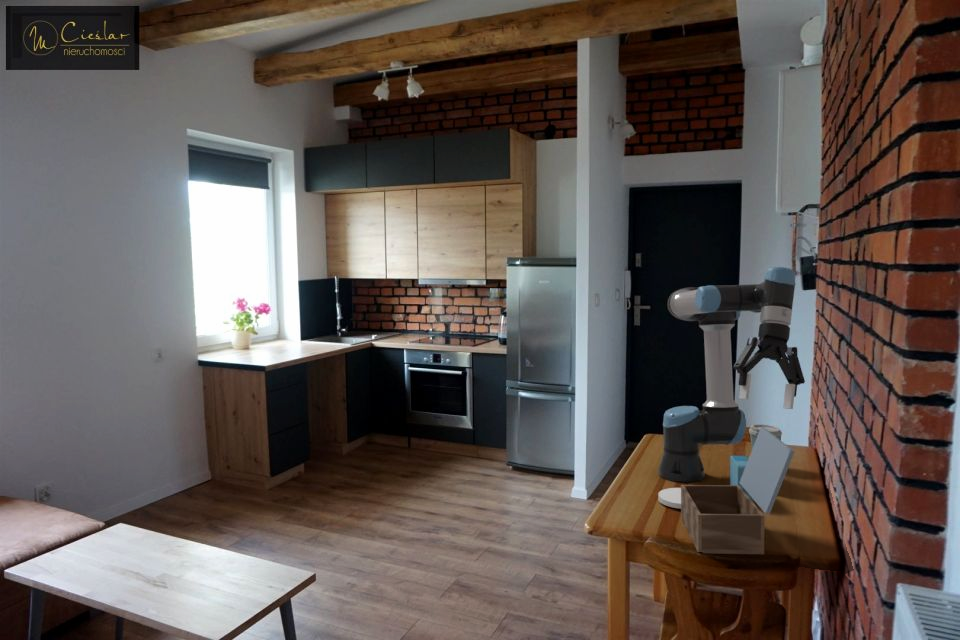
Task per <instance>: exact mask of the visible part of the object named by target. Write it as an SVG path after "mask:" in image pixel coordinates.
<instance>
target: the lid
mask: <svg viewBox="0 0 960 640" xmlns="http://www.w3.org/2000/svg"><path fill="white" fill-rule="evenodd" d="M795 452H796V451H795V450H794V449H792V448H791V447H790V446H789V445H788V444H786V443H784V442H783V441H782V439H781V440H780V439H778V438H777V437H776V436H774V435H773V434H772V433H771V432H769V431H768V430H767V429H766V428H764V427H761V428H760V431H759V434H758V436H757V439H756V441H755V444H754V446H753V449H752V448H751V451H750V453H749V457H748V458H747V459H748V462H747V464H746V467H745V469H744V472H743V474H742V477H741V480H740V482H739V483H740V484H741V485H742V486H743V488H744V489H745V490H746V491H747V492H748V494H749V495H750V496H751V497H752V498H753V502H754V503H756V504H757V505H758V508H759V509H761V510H762V511H763V513H764V514H765V515H769V516H770V515H771V512H772V509H773V507H774V504H775V501H776V499H777V496H778V494H779V492H780V490H781V487H782V483H783V481H784V480H785V477H786V475H787V471H788V469H789V466H790V464H791V461H792V459H793V458H794V457H793V456H794V455H795Z"/></svg>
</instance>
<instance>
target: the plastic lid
mask: <svg viewBox="0 0 960 640" xmlns="http://www.w3.org/2000/svg"><path fill="white" fill-rule="evenodd" d="M657 497H658V499H657V500H658V502H660V504H662V505H664V506H667V507H670V508H674V509H680V510H681V487H670V488H664V489H661V490H660V491H658V493H657Z"/></svg>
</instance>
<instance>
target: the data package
mask: <svg viewBox="0 0 960 640" xmlns="http://www.w3.org/2000/svg"><path fill="white" fill-rule="evenodd" d="M729 458H730V460H729V462H730V463H729V465H730V466H729V471H730V472H729V473H730V474H729V475H730V476H729V485H739V486H740V487H741V488H742V489H743V491H744V492H745V493H746V494H747V495H748V497H749V498H750V499H751V500H752V501H753V502H754V499H753V498H752V497H751V496H750V495H749V494H748V492H747V491H746V490H745V489H744V488H743V486H742V485H741V484H740V483H739V482H740V480H741V477H742V474H743V472H744V469H745V467H746V464H747V462H748V459H749V458H748V457H747V456H746V455H730V457H729Z"/></svg>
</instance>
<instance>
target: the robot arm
mask: <svg viewBox="0 0 960 640" xmlns="http://www.w3.org/2000/svg"><path fill="white" fill-rule="evenodd" d="M763 280H764V281H762V282H761V283H757V284H756V283H755V284H734V285H733V284H732V285H725V284H724V285H712V284H711V285H709V284H708V285H705V286H704V285H703V286H699V287H697V286H696V287H693V286H691V287H684V288H680V289H677V290H675V291H673V292H672V293H671V294H670V296H669V297H668V299H667V309H668V311H669V313H670V314H671V315H672V316H673V317H675V318H676V319H678V320H682V321H687V322H698V327H699V328H700V329H701V330H702V331H703V339H704V343H703V346H704V363H705V364H704V365H705V381H706V382H705V383H706V384H705V385H706V388H705V389H706V401H705V402H704V403H702V410H699V408H698V407H697V406H693V405H681V406H675V407H672V408H669V409H667V410H665V412H664V414H663V420H662V421H663V422H662V427H663V432H662V433H663V454H662V455H661V460H660V462H659V465H658V476H660V477H661V478H663V479H664V480H665V479H666V480H668V481H672V482H680V483H692V482H693V483H694V482H698V481H702V480H703V479H704V478H705V467H704V465H703V462H702V458H701V456H700V446H714V445H715V446H716V445H717V446H718V445H725V446H728V445H735V444H736V445H737V444H739V443H741V442H742V441H743V440H744V439H743V438H744V437H745V435H746V431H747V418H746V414H745V412H744V411H743V410H742V409H740V408H739V404H738V403H737V402H736V400H734V382H733V370H735V371H736V372H737V374H739V379H738V386H740V389H739V394H738V399H740V400H749V394H750V387H751V381H752V380H751V378H752V374H751V373H749V372H750V371H751V370H753V368H755V367H756V366H757V364H758V363H760V362H761V361H762V360H763V359H766V360H767V359H769V360H772V361H775V362H776V363H777V365H779V367H780V370H781V372H782V373H783V375H784V377H785V379H786V380H787V383H785V389H784V395H783V405H782V406H783V408H782V409H785V410H786V409H787V410H793V409H794V402H795V401H794V400H795V397H797V392H798V391H797V390H798V386H799V385H801V384H803V385H804V384H805V382H806V380H805V378H804V377H805V376H804V374H803V370H802V367H801V363H800V360H799V357H798V356H799V355H798V347H797V346H791V347H790V346H788V341H789V340H790V335H791V334H790V333H791V327H790V325H791V324H792V314H793V313H792V312H793V305H794V296H795V290H796V289H795V288H796V285H797V283H796V271H794V270H793V269H792V268H788V267H783V266H774V267H769V268H767V269H766V271H765V275H764V279H763ZM741 312H752V313H755V314H760V316H759V322H760V324H759V327H758V335H757V337H758V338H757V337H756V336H754V337H749V338H747V342H746V345H745V347H744V349H743V350H742V351H741V354H740V355H739V356H738V358H737V360H736V361H735V363H734V365H733V363H732V362H733V360H732V359H733V358H732V340H731V339H732V338H731V330H732V329H733V328H734V327H735V325H736V324H735V323H736V322H735V321H736V320H739V318H740V317H741ZM756 347H757V348H758V350H757V351H756V352H755V353H754V351H755V349H756ZM753 353H754V354H753ZM752 354H753V356H752ZM751 356H752V357H751ZM750 357H751V358H750Z"/></svg>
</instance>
